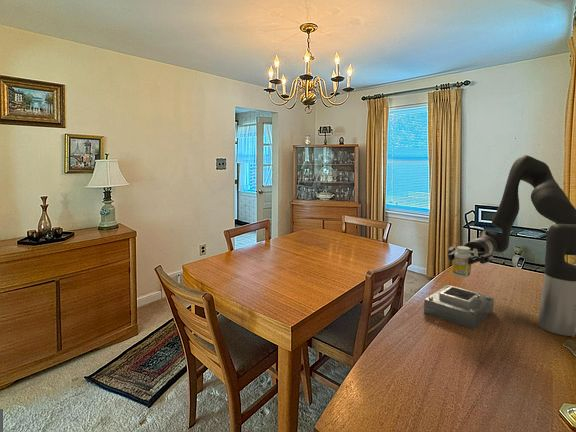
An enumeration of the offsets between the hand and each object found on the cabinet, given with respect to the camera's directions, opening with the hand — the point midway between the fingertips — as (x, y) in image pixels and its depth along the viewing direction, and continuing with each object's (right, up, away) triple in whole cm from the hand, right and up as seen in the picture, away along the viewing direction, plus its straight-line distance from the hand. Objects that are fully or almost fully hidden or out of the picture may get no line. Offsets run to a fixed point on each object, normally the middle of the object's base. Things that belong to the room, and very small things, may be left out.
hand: (459, 259), depth 106 cm
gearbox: (+2, -19, +5) cm, 20 cm away
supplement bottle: (+2, -6, +3) cm, 7 cm away
